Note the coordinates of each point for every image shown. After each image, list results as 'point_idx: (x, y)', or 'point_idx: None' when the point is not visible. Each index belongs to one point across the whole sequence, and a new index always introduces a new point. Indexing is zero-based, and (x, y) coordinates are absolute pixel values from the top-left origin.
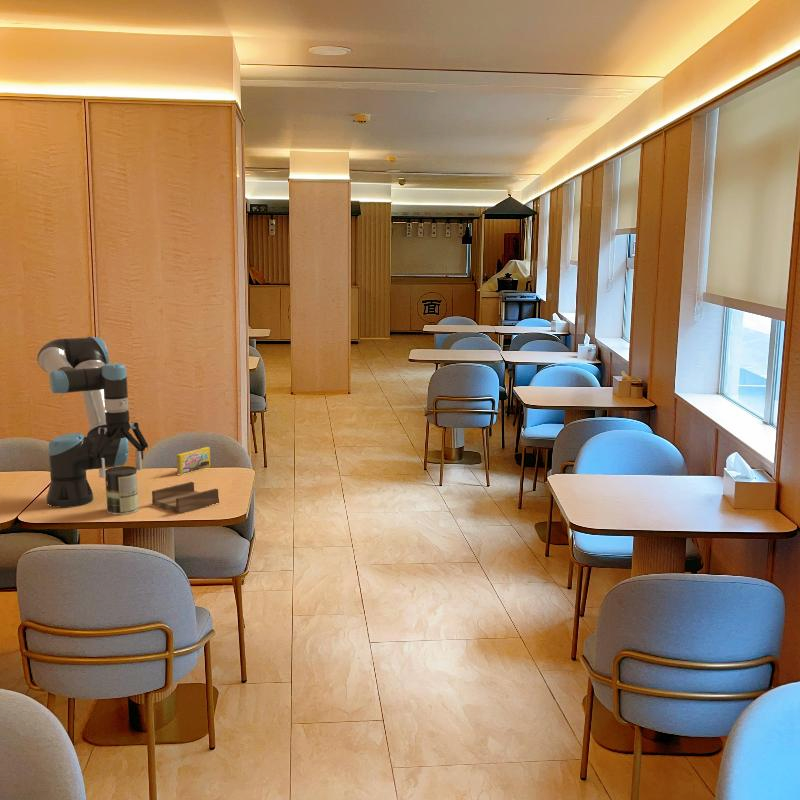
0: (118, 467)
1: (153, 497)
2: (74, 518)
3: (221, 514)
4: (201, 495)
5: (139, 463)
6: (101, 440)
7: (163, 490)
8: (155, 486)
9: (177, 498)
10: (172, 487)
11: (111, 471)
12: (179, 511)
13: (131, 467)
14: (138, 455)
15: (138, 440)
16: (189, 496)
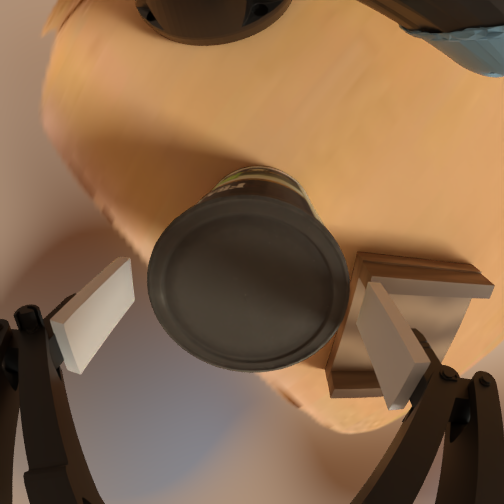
0: (288, 224)
1: (363, 273)
2: (112, 167)
3: (360, 416)
4: None
5: (367, 346)
6: (4, 471)
7: (400, 293)
8: (491, 94)
9: (335, 392)
10: (433, 295)
11: (190, 273)
12: (326, 374)
13: (334, 299)
14: (384, 378)
15: (473, 430)
16: (365, 396)
